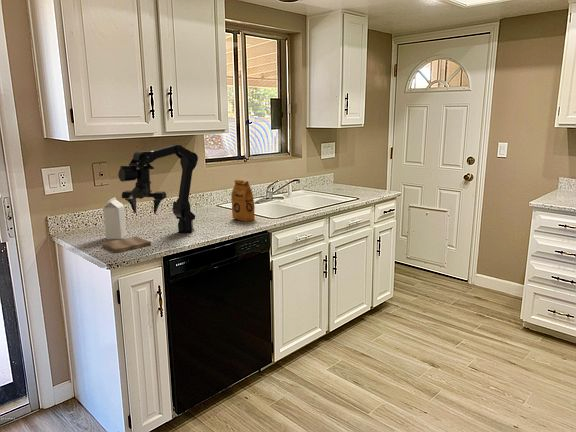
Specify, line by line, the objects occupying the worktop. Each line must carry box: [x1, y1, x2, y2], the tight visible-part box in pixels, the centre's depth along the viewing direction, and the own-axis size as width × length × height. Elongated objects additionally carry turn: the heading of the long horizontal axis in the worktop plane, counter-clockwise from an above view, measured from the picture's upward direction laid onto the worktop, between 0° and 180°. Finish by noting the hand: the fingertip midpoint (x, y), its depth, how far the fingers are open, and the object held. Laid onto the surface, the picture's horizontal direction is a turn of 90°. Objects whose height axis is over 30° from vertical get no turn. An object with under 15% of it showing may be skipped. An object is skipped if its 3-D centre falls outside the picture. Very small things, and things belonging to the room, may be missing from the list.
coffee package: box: [230, 179, 255, 223], centre depth 238 cm, size 10×12×22 cm
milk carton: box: [102, 196, 127, 240], centre depth 205 cm, size 7×7×19 cm
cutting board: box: [101, 235, 152, 254], centre depth 193 cm, size 16×14×2 cm
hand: (145, 213), depth 198 cm, fingers open, 9 cm apart
